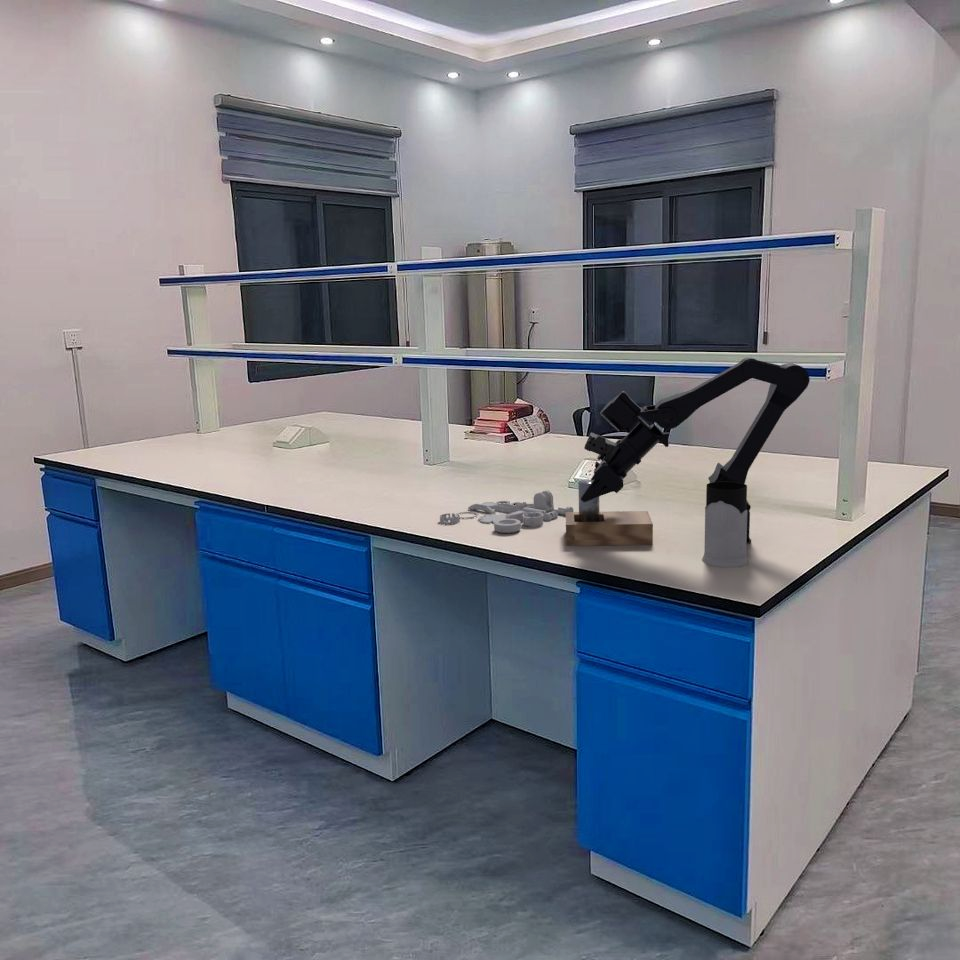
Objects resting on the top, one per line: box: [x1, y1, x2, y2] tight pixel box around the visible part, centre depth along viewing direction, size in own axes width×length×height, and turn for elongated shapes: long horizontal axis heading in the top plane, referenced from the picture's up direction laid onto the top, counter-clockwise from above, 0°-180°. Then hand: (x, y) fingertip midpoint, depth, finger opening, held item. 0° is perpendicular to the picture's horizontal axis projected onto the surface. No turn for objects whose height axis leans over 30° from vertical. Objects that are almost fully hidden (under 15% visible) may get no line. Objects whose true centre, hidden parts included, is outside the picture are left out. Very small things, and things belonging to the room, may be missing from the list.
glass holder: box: [701, 481, 749, 568], centre depth 169 cm, size 9×14×15 cm, turn 149°
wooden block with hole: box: [565, 510, 654, 547], centre depth 187 cm, size 18×11×4 cm, turn 85°
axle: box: [577, 479, 601, 522], centre depth 186 cm, size 4×4×10 cm
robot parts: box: [439, 489, 574, 534], centre depth 207 cm, size 25×25×5 cm
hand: (582, 497), depth 186 cm, fingers closed on axle, 4 cm apart
